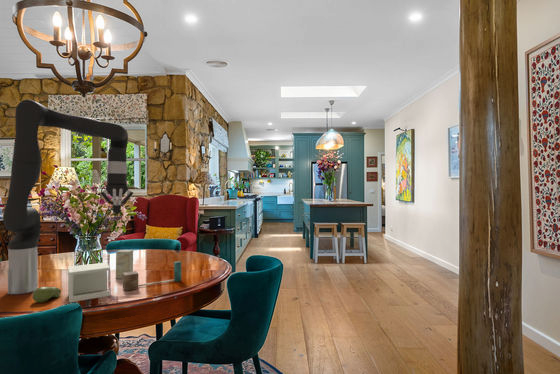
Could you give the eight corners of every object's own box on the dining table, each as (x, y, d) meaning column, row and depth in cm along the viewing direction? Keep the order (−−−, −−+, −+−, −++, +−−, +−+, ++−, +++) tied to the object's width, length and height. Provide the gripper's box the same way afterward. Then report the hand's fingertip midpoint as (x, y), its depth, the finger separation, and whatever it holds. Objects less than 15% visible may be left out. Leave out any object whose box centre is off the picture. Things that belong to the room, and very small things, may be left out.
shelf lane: (69, 302, 122) (69, 272, 122) (68, 294, 131) (68, 266, 131) (110, 295, 129) (110, 267, 129) (106, 288, 138) (106, 262, 138)
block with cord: (124, 290, 134) (124, 270, 134) (122, 287, 138) (122, 267, 138) (183, 281, 147) (182, 262, 147) (179, 278, 151) (179, 260, 151)
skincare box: (115, 278, 154) (115, 251, 154) (120, 275, 158) (120, 249, 158) (128, 278, 153) (128, 251, 153) (133, 276, 158) (133, 249, 158)
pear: (29, 287, 121) (53, 284, 131) (27, 303, 120) (51, 299, 130) (43, 288, 120) (65, 285, 130) (41, 304, 119) (63, 299, 129)
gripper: (100, 172, 136) (99, 215, 136) (135, 172, 143) (135, 214, 143) (98, 172, 143) (98, 214, 143) (132, 173, 150) (132, 213, 150)
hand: (116, 214), depth 143 cm, fingers closed
